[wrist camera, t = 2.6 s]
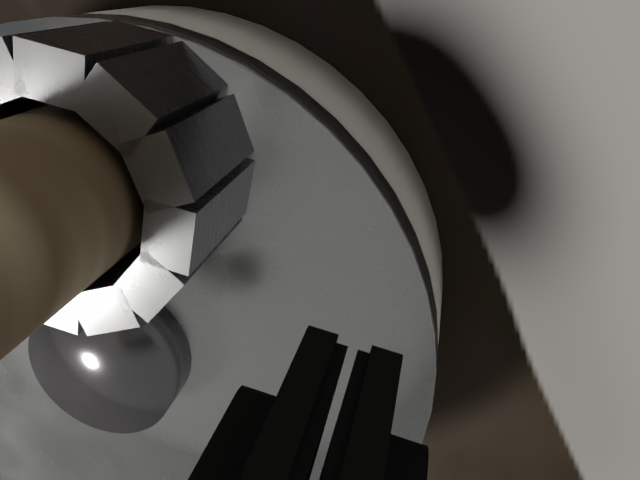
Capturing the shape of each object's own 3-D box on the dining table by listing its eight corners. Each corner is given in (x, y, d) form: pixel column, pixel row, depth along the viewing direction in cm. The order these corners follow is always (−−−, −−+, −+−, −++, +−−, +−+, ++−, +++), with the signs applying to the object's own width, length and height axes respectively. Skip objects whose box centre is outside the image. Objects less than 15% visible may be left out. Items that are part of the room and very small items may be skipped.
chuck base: (-43, -56, 22) (-142, -61, 18) (524, 90, 19) (537, 116, 16) (-14, 379, 31) (-76, 432, 28) (368, 511, 29) (355, 587, 25)
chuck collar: (354, 593, 25) (327, 745, 20) (-81, 436, 27) (-200, 539, 22) (538, 119, 16) (572, 188, 11) (-151, -61, 18) (-385, -73, 13)
